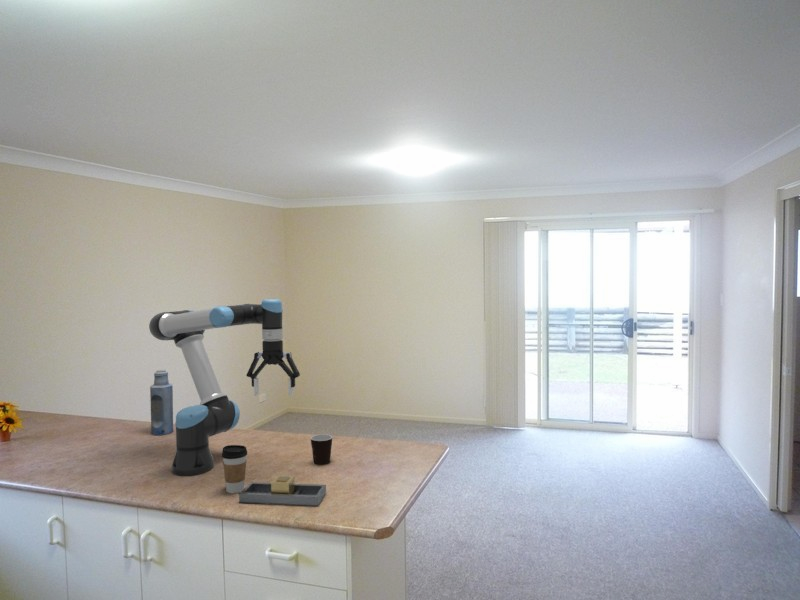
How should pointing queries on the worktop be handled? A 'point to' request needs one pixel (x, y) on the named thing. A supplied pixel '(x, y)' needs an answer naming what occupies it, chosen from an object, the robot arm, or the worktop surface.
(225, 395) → the robot arm
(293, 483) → the recessed panel cube
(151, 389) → the bottle
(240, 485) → the coffee cup
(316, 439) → the coffee mug
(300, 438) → the worktop surface
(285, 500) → the grey divided tray
